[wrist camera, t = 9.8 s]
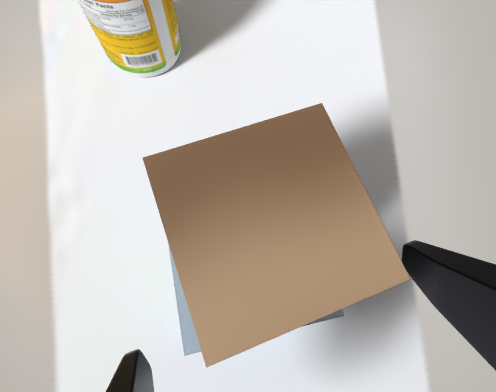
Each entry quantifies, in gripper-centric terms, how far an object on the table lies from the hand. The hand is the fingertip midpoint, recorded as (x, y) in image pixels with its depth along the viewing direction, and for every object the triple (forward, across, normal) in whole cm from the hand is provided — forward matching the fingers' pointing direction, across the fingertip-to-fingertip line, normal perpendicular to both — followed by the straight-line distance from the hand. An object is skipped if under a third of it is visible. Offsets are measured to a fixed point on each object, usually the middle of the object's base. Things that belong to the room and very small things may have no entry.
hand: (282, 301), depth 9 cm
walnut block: (+7, 0, +4) cm, 8 cm away
